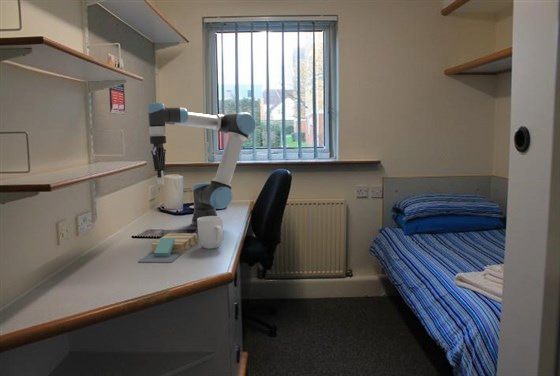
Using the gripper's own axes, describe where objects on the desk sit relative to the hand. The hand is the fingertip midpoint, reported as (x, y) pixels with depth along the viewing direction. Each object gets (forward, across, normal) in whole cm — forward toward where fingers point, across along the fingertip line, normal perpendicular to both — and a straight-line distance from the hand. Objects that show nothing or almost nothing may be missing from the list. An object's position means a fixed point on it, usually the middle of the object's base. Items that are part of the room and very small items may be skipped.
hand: (160, 184), depth 224 cm
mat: (+26, +37, +13) cm, 47 cm away
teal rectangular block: (+24, +32, +13) cm, 42 cm away
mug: (+27, +20, +30) cm, 45 cm away
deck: (+26, +20, +13) cm, 36 cm away
